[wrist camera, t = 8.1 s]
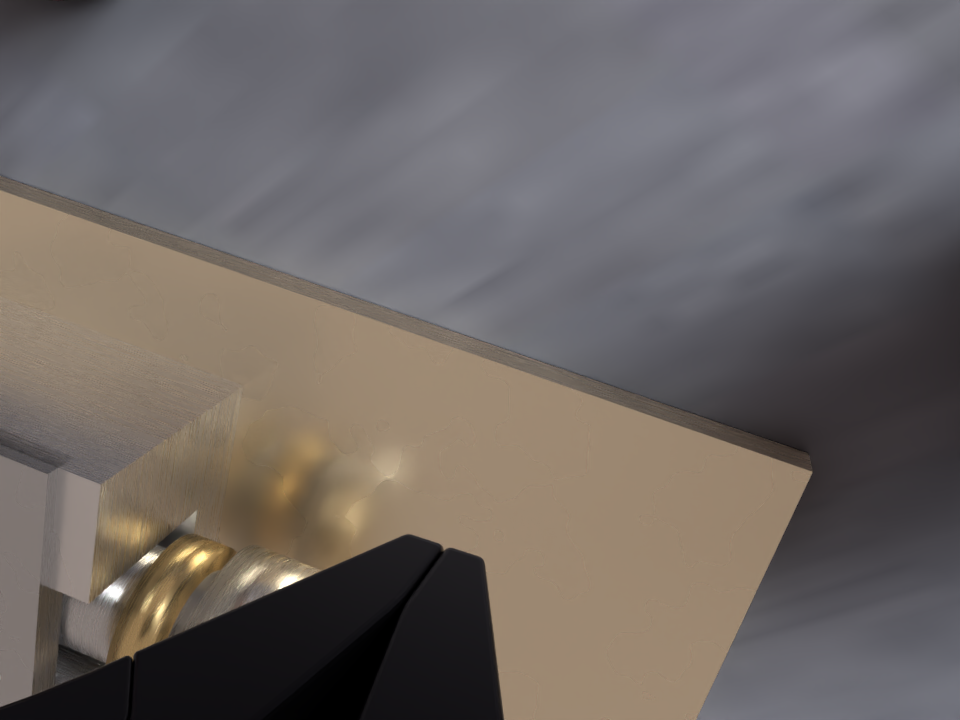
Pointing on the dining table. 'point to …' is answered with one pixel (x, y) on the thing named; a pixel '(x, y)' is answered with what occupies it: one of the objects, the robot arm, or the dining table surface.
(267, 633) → the robot arm
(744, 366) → the dining table surface
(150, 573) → the shaft
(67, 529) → the bearing block
